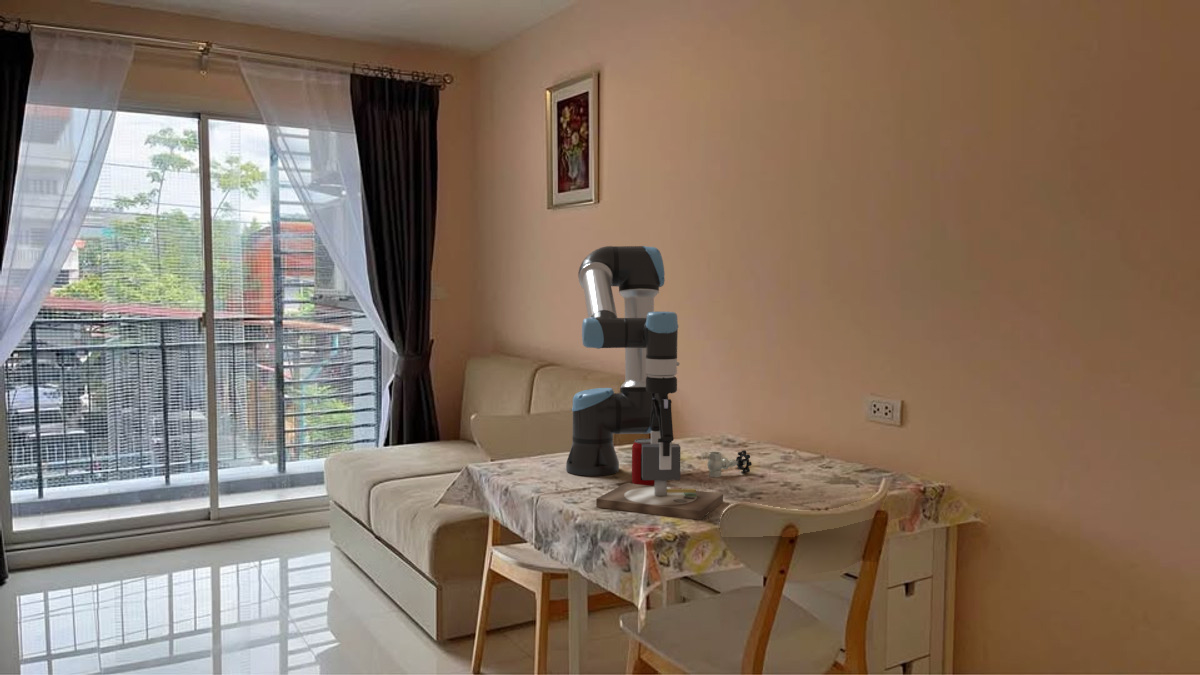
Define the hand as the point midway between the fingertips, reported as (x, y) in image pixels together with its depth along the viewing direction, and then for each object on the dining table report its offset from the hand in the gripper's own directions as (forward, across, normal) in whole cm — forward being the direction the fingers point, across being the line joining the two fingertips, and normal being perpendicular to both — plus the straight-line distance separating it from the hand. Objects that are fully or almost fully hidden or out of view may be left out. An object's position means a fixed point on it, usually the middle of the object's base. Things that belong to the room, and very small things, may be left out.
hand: (660, 463), depth 207 cm
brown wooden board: (+10, 0, 0) cm, 10 cm away
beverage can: (+10, +20, +1) cm, 23 cm away
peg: (+8, 0, -2) cm, 8 cm away
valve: (+11, +30, -24) cm, 40 cm away
